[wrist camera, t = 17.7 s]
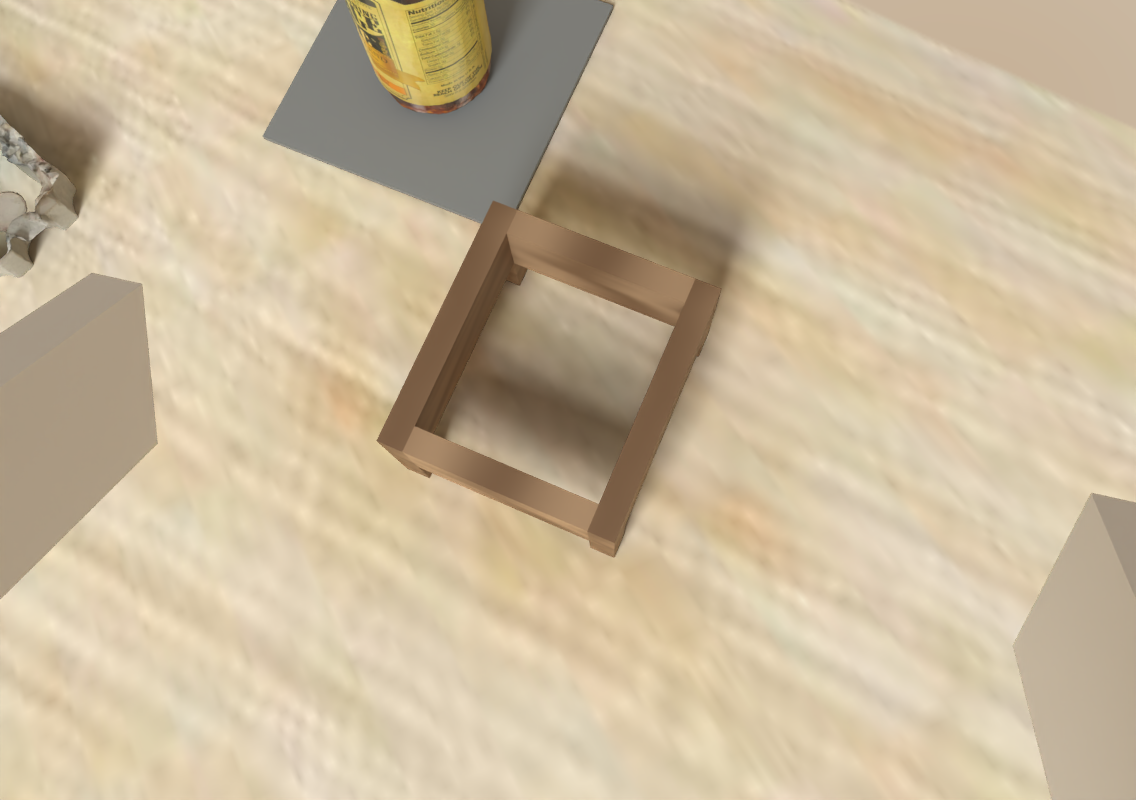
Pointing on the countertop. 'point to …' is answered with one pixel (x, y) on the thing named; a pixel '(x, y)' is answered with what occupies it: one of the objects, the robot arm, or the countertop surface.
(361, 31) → the sauce bottle
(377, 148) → the slate mat
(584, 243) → the wooden square frame
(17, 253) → the egg carton
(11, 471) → the robot arm
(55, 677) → the countertop surface
